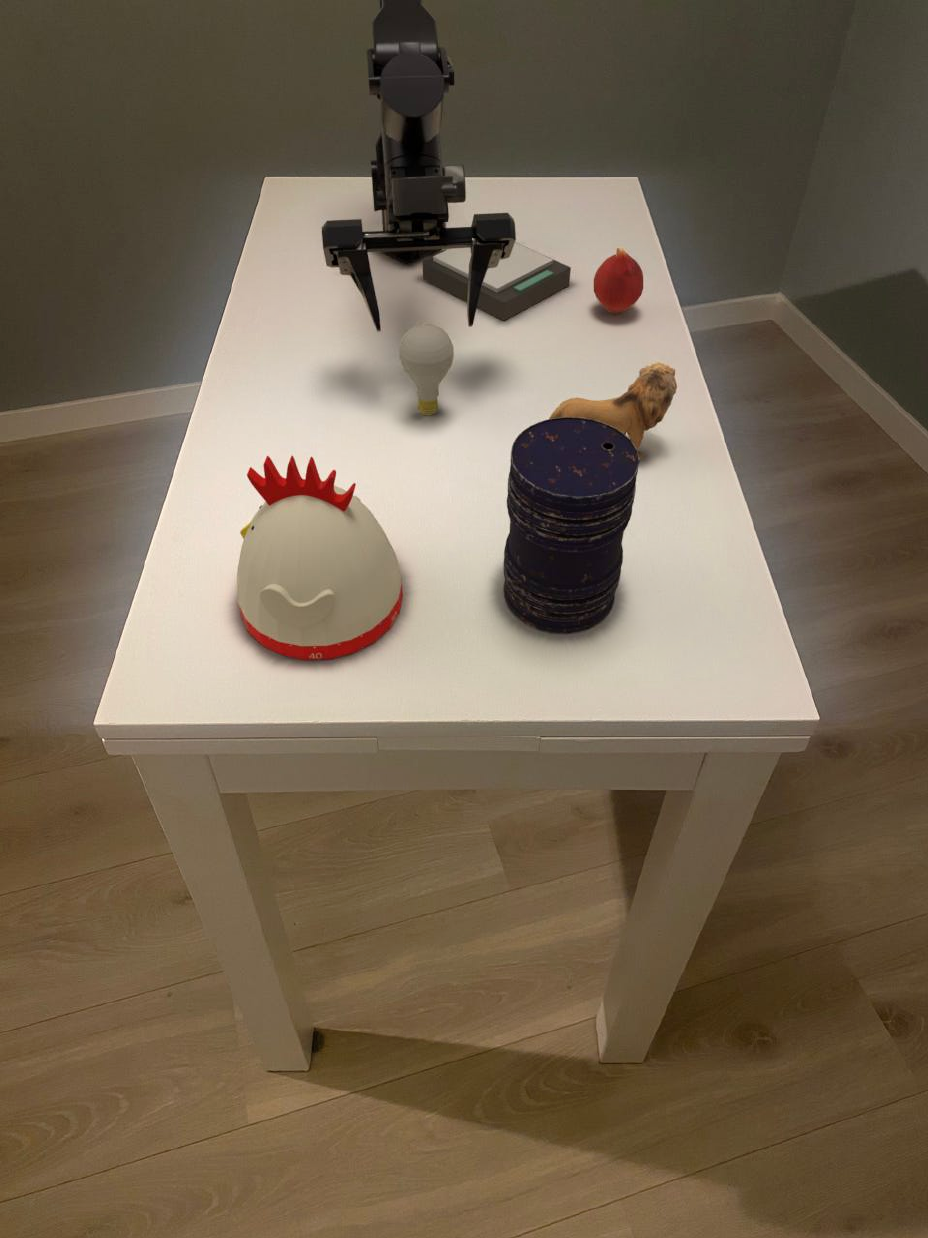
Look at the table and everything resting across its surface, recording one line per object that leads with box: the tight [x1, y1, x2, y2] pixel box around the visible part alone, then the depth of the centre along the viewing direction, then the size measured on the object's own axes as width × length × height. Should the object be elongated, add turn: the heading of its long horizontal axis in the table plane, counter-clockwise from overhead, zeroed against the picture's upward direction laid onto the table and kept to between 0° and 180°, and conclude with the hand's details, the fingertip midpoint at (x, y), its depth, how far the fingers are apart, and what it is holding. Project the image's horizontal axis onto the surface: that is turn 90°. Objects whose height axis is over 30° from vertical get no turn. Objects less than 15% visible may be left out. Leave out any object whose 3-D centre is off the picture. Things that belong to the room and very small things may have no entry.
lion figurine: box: [548, 362, 678, 462], centre depth 91 cm, size 15×5×9 cm, turn 110°
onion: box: [593, 247, 644, 314], centre depth 109 cm, size 6×6×8 cm
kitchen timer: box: [236, 455, 404, 661], centre depth 75 cm, size 14×14×15 cm
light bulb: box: [398, 323, 455, 416], centre depth 95 cm, size 6×6×10 cm
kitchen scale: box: [422, 241, 572, 322], centre depth 116 cm, size 14×12×3 cm
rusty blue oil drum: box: [502, 417, 640, 635], centre depth 76 cm, size 10×10×15 cm
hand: (424, 327), depth 93 cm, fingers open, 9 cm apart
